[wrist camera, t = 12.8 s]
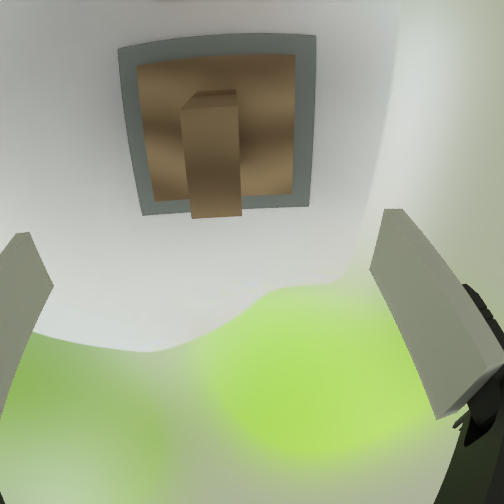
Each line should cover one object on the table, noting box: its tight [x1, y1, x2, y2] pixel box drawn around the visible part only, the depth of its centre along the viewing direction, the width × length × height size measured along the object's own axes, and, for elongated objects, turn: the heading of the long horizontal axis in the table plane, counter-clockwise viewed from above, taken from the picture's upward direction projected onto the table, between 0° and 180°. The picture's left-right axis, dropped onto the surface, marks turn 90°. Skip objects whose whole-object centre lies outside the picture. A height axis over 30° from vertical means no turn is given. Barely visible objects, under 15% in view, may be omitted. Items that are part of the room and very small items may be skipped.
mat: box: [118, 33, 316, 216], centre depth 26 cm, size 17×17×1 cm
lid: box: [136, 54, 295, 219], centre depth 22 cm, size 13×13×10 cm
